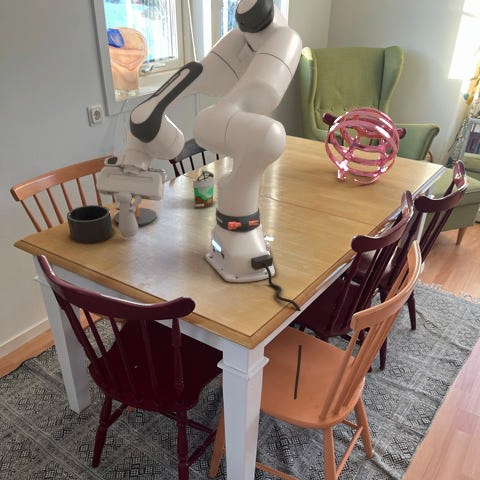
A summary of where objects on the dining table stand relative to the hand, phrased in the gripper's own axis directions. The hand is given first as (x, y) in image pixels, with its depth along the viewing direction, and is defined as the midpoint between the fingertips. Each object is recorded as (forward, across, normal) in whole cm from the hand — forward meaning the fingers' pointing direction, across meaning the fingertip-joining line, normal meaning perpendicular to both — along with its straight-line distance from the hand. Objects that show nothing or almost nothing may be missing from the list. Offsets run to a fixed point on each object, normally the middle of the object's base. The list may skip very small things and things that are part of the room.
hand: (124, 210), depth 139 cm
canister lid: (-4, +5, -18) cm, 19 cm away
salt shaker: (+5, 0, -6) cm, 8 cm away
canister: (+6, +13, -8) cm, 16 cm away
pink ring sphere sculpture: (-48, -63, -62) cm, 101 cm away
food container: (-18, -13, -32) cm, 39 cm away
